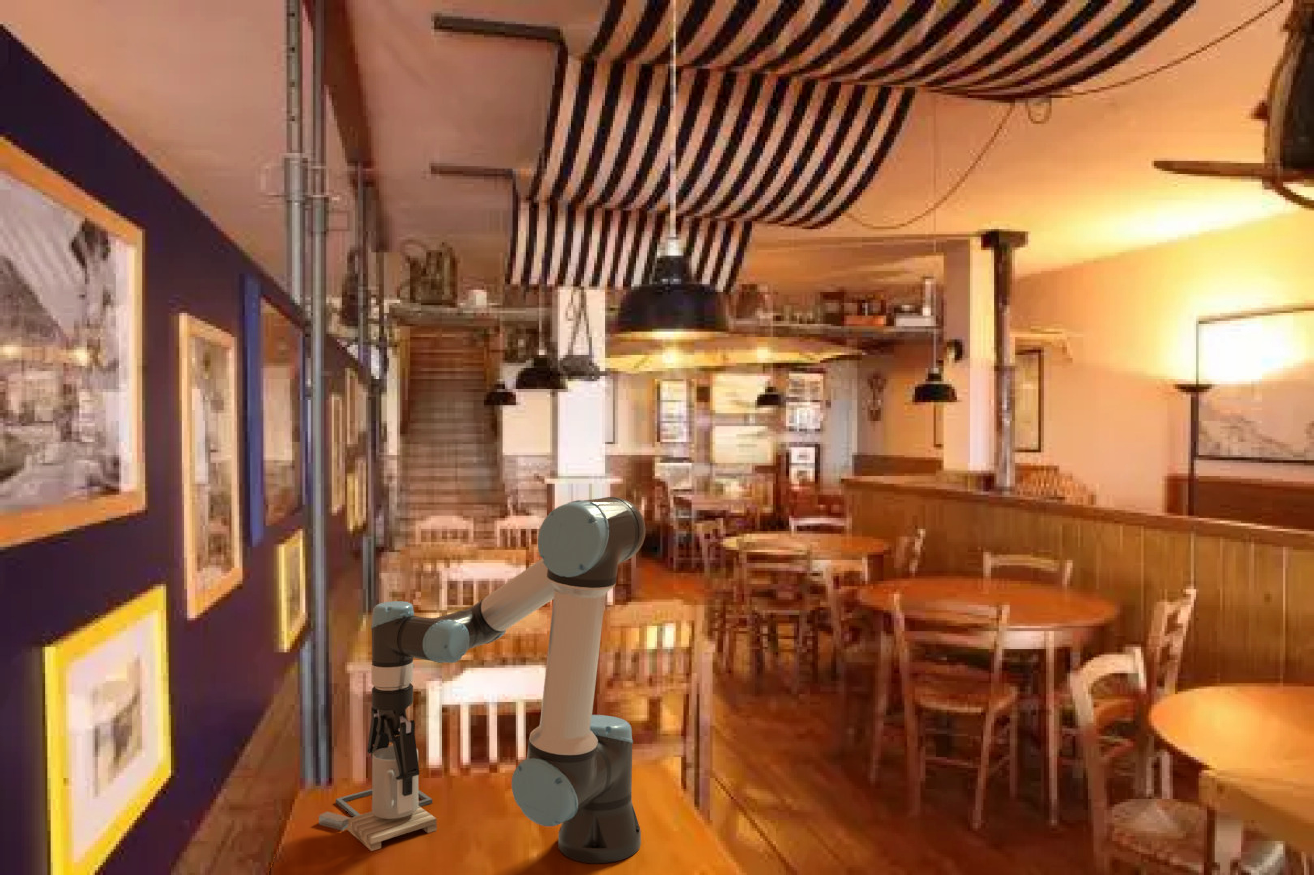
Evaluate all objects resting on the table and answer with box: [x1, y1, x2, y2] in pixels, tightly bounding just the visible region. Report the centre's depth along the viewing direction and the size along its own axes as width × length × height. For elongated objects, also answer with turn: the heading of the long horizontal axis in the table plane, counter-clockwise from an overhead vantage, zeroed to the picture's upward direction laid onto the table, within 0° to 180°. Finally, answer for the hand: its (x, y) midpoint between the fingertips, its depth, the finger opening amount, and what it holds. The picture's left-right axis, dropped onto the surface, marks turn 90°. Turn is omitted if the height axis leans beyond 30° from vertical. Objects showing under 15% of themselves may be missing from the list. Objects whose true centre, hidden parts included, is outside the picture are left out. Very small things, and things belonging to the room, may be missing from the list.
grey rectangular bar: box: [318, 811, 351, 832], centre depth 170 cm, size 6×2×2 cm, turn 64°
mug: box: [371, 744, 420, 819], centre depth 167 cm, size 12×8×11 cm
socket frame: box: [335, 788, 433, 817], centre depth 180 cm, size 13×15×1 cm
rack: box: [346, 806, 438, 852], centre depth 168 cm, size 11×13×2 cm
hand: (392, 801), depth 168 cm, fingers closed on mug, 10 cm apart
